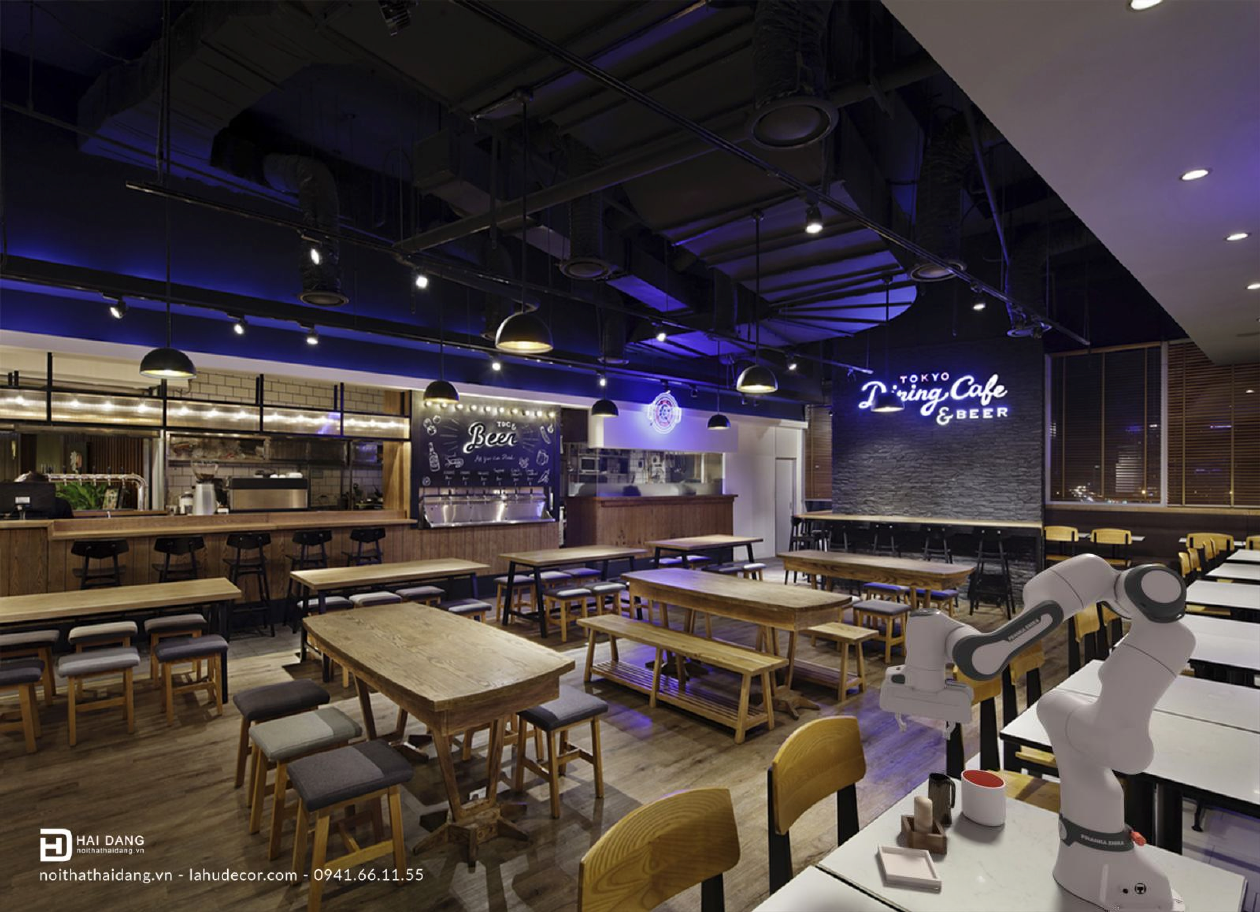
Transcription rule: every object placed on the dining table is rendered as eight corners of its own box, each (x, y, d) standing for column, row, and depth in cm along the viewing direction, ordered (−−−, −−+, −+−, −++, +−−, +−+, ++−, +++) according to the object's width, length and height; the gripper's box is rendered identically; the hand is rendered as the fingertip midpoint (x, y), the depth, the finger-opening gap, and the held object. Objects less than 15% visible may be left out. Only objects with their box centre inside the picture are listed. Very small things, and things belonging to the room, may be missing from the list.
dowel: (930, 838, 152) (929, 797, 152) (934, 848, 148) (934, 805, 148) (912, 836, 152) (912, 795, 153) (916, 846, 148) (916, 803, 149)
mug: (923, 815, 162) (922, 769, 162) (941, 813, 163) (941, 767, 163) (944, 833, 154) (943, 784, 154) (963, 830, 155) (963, 781, 155)
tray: (928, 858, 144) (928, 850, 144) (941, 889, 133) (941, 881, 133) (877, 852, 146) (877, 844, 146) (886, 882, 135) (886, 874, 135)
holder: (937, 834, 153) (937, 818, 153) (947, 855, 145) (947, 837, 145) (900, 830, 155) (900, 813, 155) (908, 850, 147) (908, 833, 147)
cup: (1012, 830, 155) (1011, 790, 155) (968, 826, 157) (968, 786, 157) (997, 809, 165) (996, 771, 165) (956, 805, 167) (956, 767, 167)
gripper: (972, 679, 148) (972, 737, 148) (880, 667, 156) (879, 722, 156) (975, 687, 143) (975, 748, 142) (879, 674, 151) (878, 732, 150)
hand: (924, 734), depth 149 cm, fingers open, 8 cm apart
